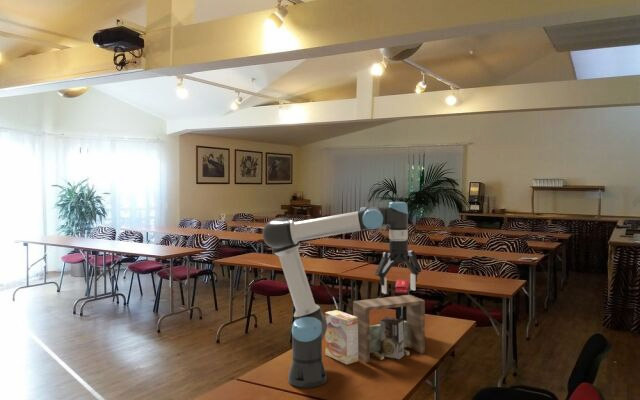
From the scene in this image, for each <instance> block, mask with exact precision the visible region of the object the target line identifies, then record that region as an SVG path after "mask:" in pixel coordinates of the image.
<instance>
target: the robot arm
mask: <svg viewBox="0 0 640 400" xmlns="http://www.w3.org/2000/svg"><path fill="white" fill-rule="evenodd" d="M408 208H409V207H408V203H407V202H405V201H390V202H389V203H388V206H362V207H360V208H359V210H358V211H351V212H346V213H340V214H335V215H334V214H333V215H329V216H323V217H317V218H310V219H305V220H299V221H294V220H293V219H291V218H287V217H278V218H275V219H272V220H270V221H268V223H266V225H265V226H264V227H263V229H262V239H263V241H264V242H265V244H266V245H267V246H268V247H269V248H272V252H273V254H274V255H276V256H277V257H278V259H279V261H280V264H281V269H282V271H283V274H284V278H285V281H286V284H287V287H288V291H289V294H290V297H291V300H292V302H293V306H294V308H295V311H294V313H293V318H294V321H293V322H292V325H291V342H292V343H291V344H292V345H291V347H292V349H291V350H292V353H291V354H292V360H291V365H290V368H289V372H288V374H287V375H288V376H287V377H288V378H287V379H288V380H287V381H288V383H289V384H290V385H292V386H294V387H297V388H303V389H309V388H317V387H319V386H323V385H324V384H325V383H326V382H327V380H328V379H327V377H328V376H327V371H326V368H325V364H324V362H323V340H324V338H325V333H326V331H327V321H326V318H325V314H323V312H322V310H321V306H320V305H319V304H317V303H315V299H314V297H313V296H314V295H313V293H312V290H311V286H310V283H309V281H308V277H307V274H306V271H305V268H304V265H303V262H302V259H301V256H300V252H299V248H300V247H301V244H300V242H301V241H308V240H314V239H318V238H324V237H330V236H336V235H341V234H342V235H343V234H348V233H355V232H359V231H365V230H376V229H379V228H380V227H381V226H388V229H389V230H388V239H389V240H388V241H389V242H388V246H389V247H388V249H389V252H385V251H384V252H382V256H381V259H380V262H379V264H378V266H377V269H376V271H375V276H377V277H379V284H380V286H381V293H382V294H384V295H386V294H388V291H387V277H386V275H387V274H388V273H389V271H390V270H391V269H392V267H393V265H395V264H400V263H404V265H405V266H406V267H407V269H408V270H409V271H410V272H411V273H410V276H409V279H410V281H409V290H411V291H416V289H417V288H416V283H417V282H418V275H419V274H420V273H422V269H421V267H420V264H419V263H418V260H417V258H416V254H415V251H414V250H411V249H409V244H408V243H409V241H408V237H409V235H408V234H409V233H408V231H409V230H408V229H409V226H408V225H409V224H408V223H409V216H408V215H409V211H408V210H409V209H408ZM408 249H409V250H408ZM408 257H409V259H408ZM410 261H411V262H410Z"/></svg>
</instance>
